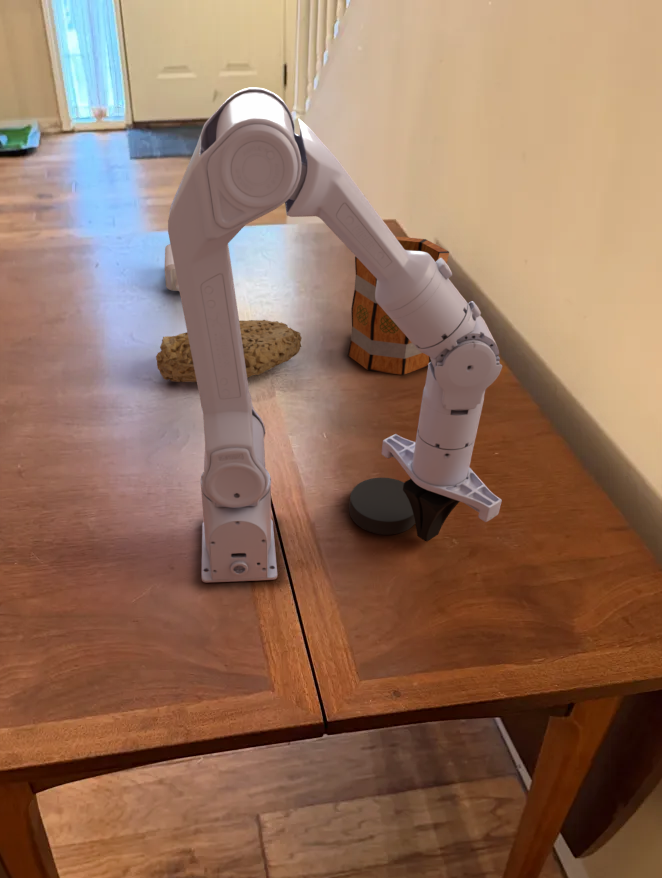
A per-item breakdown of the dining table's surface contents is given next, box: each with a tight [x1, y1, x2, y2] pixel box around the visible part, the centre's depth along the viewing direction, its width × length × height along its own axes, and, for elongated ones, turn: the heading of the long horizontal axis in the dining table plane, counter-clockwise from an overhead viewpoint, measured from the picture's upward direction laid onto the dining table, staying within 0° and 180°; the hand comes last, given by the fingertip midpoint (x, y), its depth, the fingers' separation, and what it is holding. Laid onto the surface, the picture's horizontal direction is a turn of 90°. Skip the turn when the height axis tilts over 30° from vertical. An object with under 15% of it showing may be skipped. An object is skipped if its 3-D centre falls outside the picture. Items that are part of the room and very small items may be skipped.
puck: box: [348, 477, 416, 536], centre depth 90 cm, size 8×8×2 cm
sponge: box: [155, 319, 303, 383], centre depth 111 cm, size 13×8×20 cm
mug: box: [347, 235, 450, 376], centre depth 115 cm, size 20×14×15 cm
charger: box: [164, 243, 180, 293], centre depth 132 cm, size 5×9×15 cm
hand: (427, 534), depth 86 cm, fingers closed
